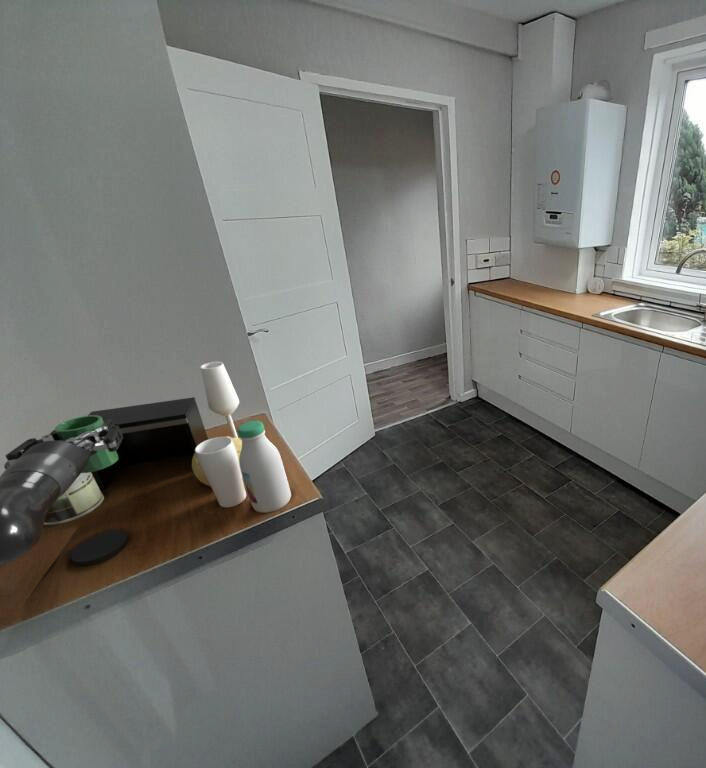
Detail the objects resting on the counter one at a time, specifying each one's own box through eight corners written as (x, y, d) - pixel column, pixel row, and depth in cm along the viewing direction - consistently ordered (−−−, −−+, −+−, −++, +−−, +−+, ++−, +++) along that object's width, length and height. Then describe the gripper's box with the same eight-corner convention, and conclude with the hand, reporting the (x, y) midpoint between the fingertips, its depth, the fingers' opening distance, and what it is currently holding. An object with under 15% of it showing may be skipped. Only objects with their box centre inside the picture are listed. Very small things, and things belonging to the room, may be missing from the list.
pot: (68, 476, 75) (47, 434, 72) (83, 459, 80) (64, 418, 77) (112, 468, 78) (93, 427, 74) (123, 452, 83) (107, 412, 79)
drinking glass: (208, 506, 90) (186, 449, 84) (237, 487, 96) (218, 433, 90) (229, 514, 88) (208, 457, 82) (257, 495, 94) (240, 440, 87)
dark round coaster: (64, 571, 74) (61, 567, 73) (83, 541, 80) (81, 537, 80) (120, 557, 77) (118, 553, 77) (134, 529, 84) (133, 525, 83)
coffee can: (44, 533, 82) (9, 477, 76) (33, 512, 87) (-1, 457, 81) (111, 504, 90) (83, 451, 84) (97, 486, 95) (70, 435, 89)
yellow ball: (216, 500, 92) (202, 461, 88) (189, 482, 98) (174, 444, 93) (266, 473, 101) (255, 436, 97) (238, 458, 107) (227, 422, 102)
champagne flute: (256, 443, 114) (233, 363, 103) (231, 455, 108) (203, 372, 98) (243, 436, 117) (219, 358, 106) (218, 447, 111) (190, 366, 101)
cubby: (99, 492, 94) (70, 432, 87) (116, 468, 102) (91, 411, 96) (204, 471, 102) (184, 415, 95) (211, 450, 110) (194, 397, 104)
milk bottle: (296, 488, 96) (276, 415, 87) (285, 511, 89) (263, 434, 80) (260, 492, 95) (237, 417, 86) (247, 515, 88) (220, 437, 79)
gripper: (93, 444, 66) (129, 402, 80) (-35, 465, 60) (28, 416, 74) (111, 482, 69) (142, 435, 83) (-10, 505, 63) (46, 451, 77)
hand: (88, 426), depth 78 cm, fingers closed on pot, 6 cm apart
